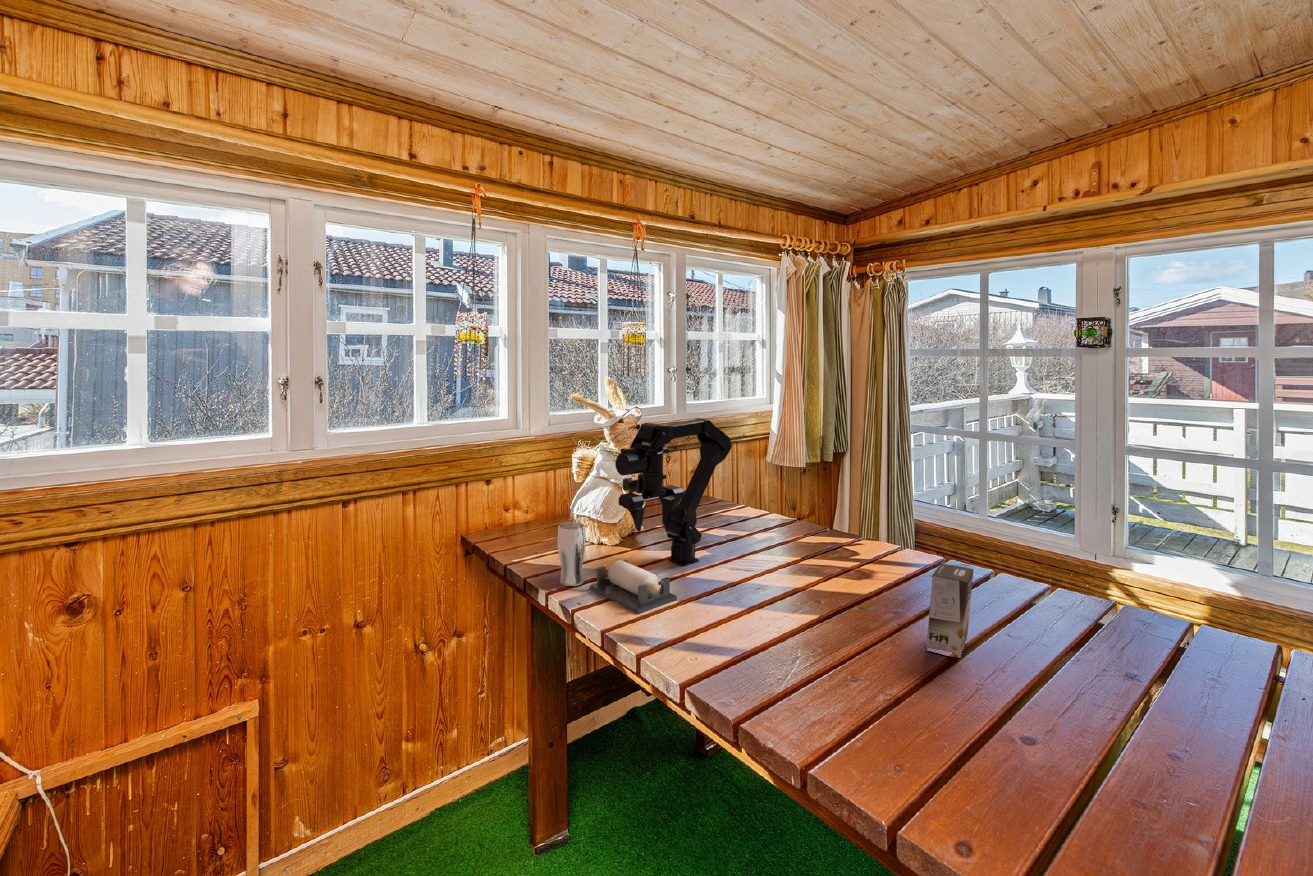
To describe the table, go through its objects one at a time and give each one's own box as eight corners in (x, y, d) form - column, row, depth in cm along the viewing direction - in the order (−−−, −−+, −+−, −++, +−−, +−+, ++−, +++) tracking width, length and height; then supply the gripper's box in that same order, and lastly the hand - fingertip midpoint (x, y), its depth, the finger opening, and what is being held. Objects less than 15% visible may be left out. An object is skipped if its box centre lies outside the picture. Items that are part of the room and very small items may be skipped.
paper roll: (602, 583, 152) (602, 560, 151) (621, 577, 156) (620, 555, 155) (646, 605, 140) (646, 580, 139) (665, 598, 144) (665, 573, 143)
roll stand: (627, 577, 159) (627, 557, 158) (676, 600, 145) (677, 578, 144) (589, 588, 151) (589, 567, 150) (638, 614, 137) (638, 590, 136)
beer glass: (580, 588, 151) (580, 530, 149) (554, 586, 153) (553, 528, 150) (589, 578, 158) (588, 522, 156) (563, 576, 159) (563, 521, 157)
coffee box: (960, 661, 118) (967, 582, 115) (925, 651, 121) (931, 575, 119) (967, 642, 125) (974, 568, 123) (934, 634, 129) (940, 561, 126)
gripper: (658, 462, 172) (657, 515, 174) (605, 470, 160) (605, 527, 162) (685, 468, 164) (684, 524, 166) (632, 477, 152) (632, 537, 154)
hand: (651, 527), depth 162 cm, fingers open, 9 cm apart
